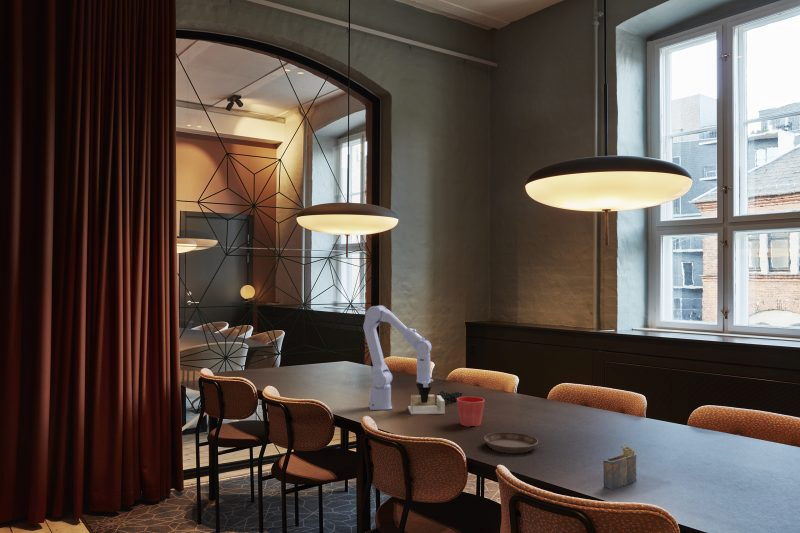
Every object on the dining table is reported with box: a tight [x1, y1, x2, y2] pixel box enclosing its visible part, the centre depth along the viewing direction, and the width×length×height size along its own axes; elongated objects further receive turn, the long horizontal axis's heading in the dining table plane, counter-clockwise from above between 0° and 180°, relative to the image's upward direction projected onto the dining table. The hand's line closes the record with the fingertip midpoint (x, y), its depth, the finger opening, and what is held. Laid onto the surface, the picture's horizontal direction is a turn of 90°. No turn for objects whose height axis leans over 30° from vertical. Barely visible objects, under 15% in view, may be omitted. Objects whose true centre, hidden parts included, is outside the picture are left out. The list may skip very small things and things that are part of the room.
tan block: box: [410, 394, 436, 409], centre depth 258 cm, size 10×4×5 cm, turn 95°
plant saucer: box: [483, 431, 539, 454], centre depth 203 cm, size 18×18×3 cm
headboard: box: [407, 394, 446, 415], centre depth 258 cm, size 14×12×5 cm
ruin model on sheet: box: [602, 444, 637, 490], centre depth 167 cm, size 11×3×10 cm, turn 127°
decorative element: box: [435, 391, 463, 405], centre depth 273 cm, size 22×5×6 cm, turn 147°
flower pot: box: [456, 396, 485, 427], centre depth 235 cm, size 11×11×10 cm
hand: (423, 401), depth 258 cm, fingers closed on tan block, 4 cm apart
